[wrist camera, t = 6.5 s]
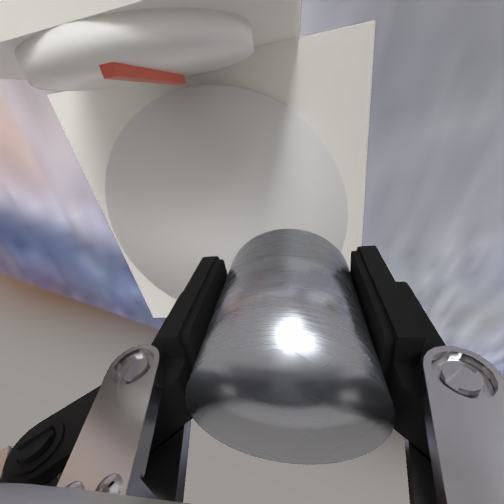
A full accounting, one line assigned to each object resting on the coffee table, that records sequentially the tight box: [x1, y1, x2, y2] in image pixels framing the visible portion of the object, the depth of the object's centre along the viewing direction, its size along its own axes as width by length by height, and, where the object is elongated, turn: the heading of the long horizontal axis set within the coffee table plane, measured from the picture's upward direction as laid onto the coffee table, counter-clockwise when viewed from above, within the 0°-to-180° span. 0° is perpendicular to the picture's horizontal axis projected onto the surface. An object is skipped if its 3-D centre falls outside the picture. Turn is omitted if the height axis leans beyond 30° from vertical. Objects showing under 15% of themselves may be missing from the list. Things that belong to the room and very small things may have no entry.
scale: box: [0, 0, 376, 318], centre depth 13 cm, size 18×16×10 cm
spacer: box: [185, 229, 396, 464], centre depth 8 cm, size 5×5×5 cm
